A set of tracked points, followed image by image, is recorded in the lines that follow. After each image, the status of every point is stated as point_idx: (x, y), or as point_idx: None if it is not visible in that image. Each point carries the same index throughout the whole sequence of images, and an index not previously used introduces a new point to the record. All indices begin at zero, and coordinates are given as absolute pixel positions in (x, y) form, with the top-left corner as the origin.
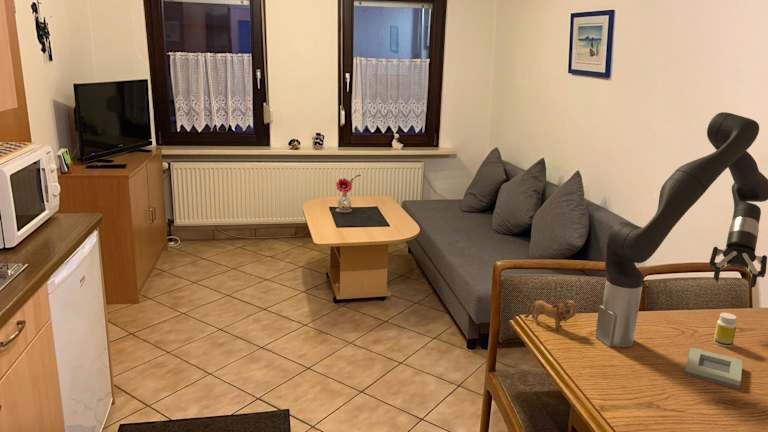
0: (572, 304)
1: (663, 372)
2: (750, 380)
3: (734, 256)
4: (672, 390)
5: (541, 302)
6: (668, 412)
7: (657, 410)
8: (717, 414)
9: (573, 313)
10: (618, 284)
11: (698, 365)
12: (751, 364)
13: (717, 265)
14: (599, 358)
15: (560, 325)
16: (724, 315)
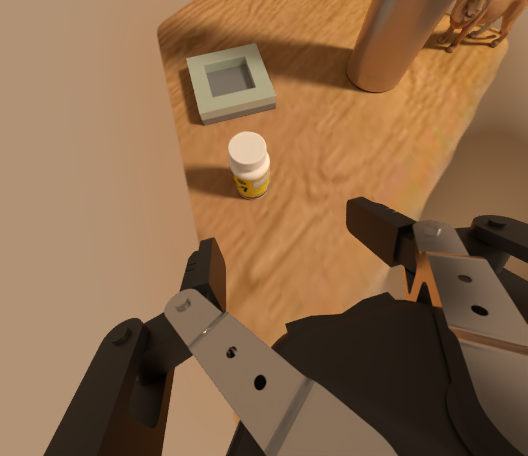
0: None
1: (277, 45)
2: (184, 102)
3: (452, 367)
4: (251, 21)
5: None
6: None
7: None
8: (197, 15)
9: (458, 1)
10: None
11: (244, 56)
12: (194, 147)
13: (434, 222)
14: (350, 22)
15: (451, 46)
16: (254, 141)
